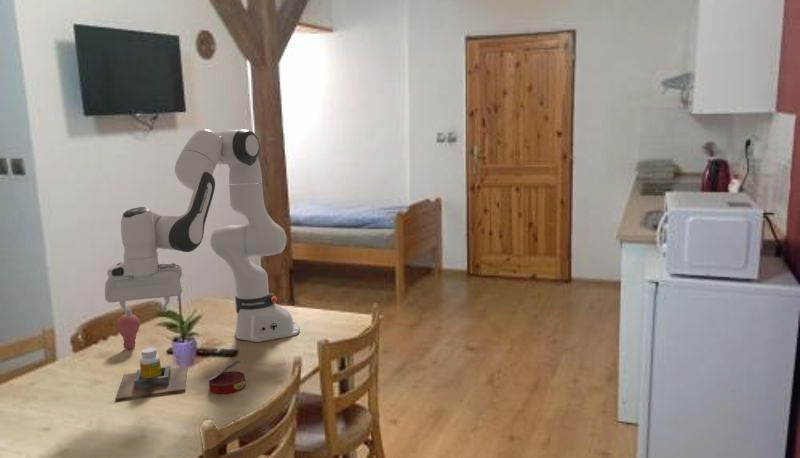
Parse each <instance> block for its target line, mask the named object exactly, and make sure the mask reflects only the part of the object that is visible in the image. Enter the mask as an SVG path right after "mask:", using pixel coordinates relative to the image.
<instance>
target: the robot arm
mask: <svg viewBox="0 0 800 458" xmlns="http://www.w3.org/2000/svg"><path fill="white" fill-rule="evenodd" d="M260 146H261V145H260V141H259V137H258V136H257V135H256V134H255V133H254V132H253V131H252V130H249V129H224V130H221V131H220V130H219V131H213V130H210V129H206V128H205V129H204V128H202V129H198V130H196V131H195V133H194V134H193V135H191V137H190V138H189V139H188V141H187V142H186V144H185V145H184V146H183V148H182V150H181V152H180V154H179V156H178V158H177V160H176V162H175V165H174V172H175V175H176V178H177V179H178V181H179V182H180V183H181V184H182V185H184V186H185V187H186V188H187V189H189V190H191V191H192V195H191V199H190V201H189V204H188V208H187V210H186V212H185V213H184V214H181V215H179V216H173V215H162V214H159V213H156V212H154V211H153V210H152V209H151V208H149V207H146V206H138V207H133V208H130V209H127V210H126V211H124V212H123V213H122V215H121V221H120V235H121V244H122V245H123V248H124V249H123V251H124V254H123V261H119V262H117V263H115V264H112V265H111V266H110V267H108V269H107V276H108V278H107V279H106V281H105V285H104V298H105V301H107V302H108V303H110V304H111V303H118V302H119V306H120V307H121V308H122V310H123V311H124V313H125V314H124V315H126V316H132V314H133V312H132V308H129V307H128V306H127V305H126V304H127V302H128V301H138V300H139V301H141V300H149V299H158V298H164V301H165V302H164V304H162V305H160V310H161V313H168V305H169V303H170V302H171V301H170V300H171V297H180V295H181V294H182V293H183V286H182V281H181V278H182V275H183V271H182V267H181V266H180V265H178V264H176V263H161V264H160V263H159V256H158V251H157V250H158V249H163V250H170V251H171V250H173V251H174V250H175V251H179V252H184V253H191V252H193V251H195V250H196V249H197V248H198V247H199V246H200V245H201V243H202V241H203V238H204V234H205V233H204V232H205V224H206V221H207V218H208V214H209V211H210V209H211V204H212V200H213V196H214V193H215V190H216V189H215V188H216V181H215V178H214V176H213V175H214V171H215V169H216V167H217V165H227V166H228V168H229V172H228V173H229V174H228V177H229V178H228V179H229V180H228V184H229V185H228V187H229V203H230V207H231V209H232V210H233V211H234V212H236V213H237V214H240V215H242V216H244V217H246V219H247V221H248V224H229V225H225V226H220V227H217V228H215V229H214V230H213V232H212V233H211V236H210V247H211V249H212V251H213V252H214V253H215V254H216V255H217V256H218V257H220V258H221V259H222V260H224V261H225V263H227V265H228V266H229V268H230V269H231V273H232V275H233V279H234V285H235V293H236V294H235V295H236V296H235V299H234V303H235V312H236V327H235V332H234V337H235V338H236V339H237V340H242V341H250V342H253V343H259V342H261V343H262V342H266V341H270V340H276V339H282V338H288V337H293V336H296V335H299V334H300V331H301V330H300V329H301V327H300V326H299V324H298V323H296V322H294V320H293V317H292V315H291V313H290V311H289V310H288V309H286V308H284V307H282V306H281V305H279V304H277V302H278V298H277V296H276V295H275V294H274V293H272V292H271V293H270V291H269V279H268V278H269V275H268V273H267V271H266V270H265V269H264V268H263V267H261V266H259V265H257V264H255V263H254V262H253V261H252V260H251V258H250V257H269V256H275V255H277V254H282V252H283V251H284V250H285V248H286V246H287V242H288V241H287V233H286V232H285V230H284V228H283V227H282V226H281V225H279V224H277V223H276V222H275V221H274V220H273V218H272V217H271V216H270V215H269V213H268V210H267V209H266V205H265V199H264V188H263V176H262V169H261V164H260V160H259V157H258V156H259V154H260Z"/></svg>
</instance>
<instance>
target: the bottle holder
mask: <svg viewBox="0 0 800 458" xmlns="http://www.w3.org/2000/svg"><path fill="white" fill-rule="evenodd" d="M187 374H188V366H187V365H186V366H179V367H172V368H171V365H164V366H161V376H159V377H152V378H144V379H141V369H137V371H136V372H132V373H124V374H123V375H122V378H121V381H120V384H119V387H118V390H117V392H116V396H115V402H120V401H121V402H122V401H128V400H133V399H134V400H135V399H142V398H148V397H150V398H151V397H156V396H157V397H158V396H164V395H166V396H167V395H171V394H173V395H174V394H178V393H179V394H180V393H186V387H187V377H188V375H187Z"/></svg>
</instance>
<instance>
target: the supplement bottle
mask: <svg viewBox="0 0 800 458" xmlns="http://www.w3.org/2000/svg"><path fill="white" fill-rule="evenodd" d="M157 351H158V350H157V348H155V347H148V348H144V349H142V350H141V358H139V359H140V360H139V368H140V369H141V379H144V378H152V377H159V376H161V367H162V366H161V358H160V356H159V355H157Z"/></svg>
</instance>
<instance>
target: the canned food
mask: <svg viewBox="0 0 800 458" xmlns="http://www.w3.org/2000/svg"><path fill="white" fill-rule="evenodd" d="M240 363H241V360H237V361H234V362H233V363H232V364H230V365H227V366H226V367H225V368H224V369H223V370H222V371H220V372H218V373H215V374H213V375H212V376H210V377H209V378H208V385H209V393H211V394H213V395H219V396H220V395H224V396H225V395H230V394H231V395H232V394H236V393H239V392H241V391H242V390H243V389H245V388H246V376H245V375H246V374H245V373H243V372H241V371H236V370H235V371H234V370H233V371H232V370H231V371H228V370H230V369H231V368H233V367H235V366H236V365H238V364H240Z"/></svg>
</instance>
